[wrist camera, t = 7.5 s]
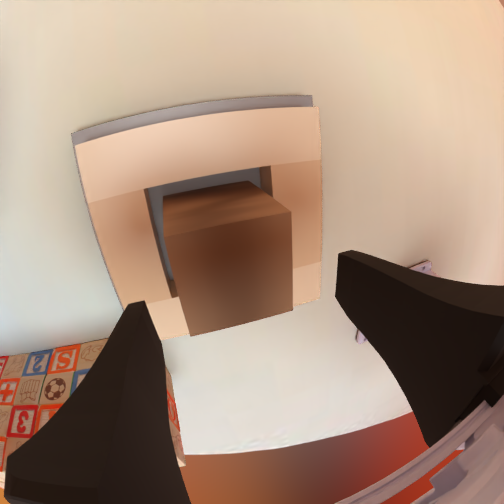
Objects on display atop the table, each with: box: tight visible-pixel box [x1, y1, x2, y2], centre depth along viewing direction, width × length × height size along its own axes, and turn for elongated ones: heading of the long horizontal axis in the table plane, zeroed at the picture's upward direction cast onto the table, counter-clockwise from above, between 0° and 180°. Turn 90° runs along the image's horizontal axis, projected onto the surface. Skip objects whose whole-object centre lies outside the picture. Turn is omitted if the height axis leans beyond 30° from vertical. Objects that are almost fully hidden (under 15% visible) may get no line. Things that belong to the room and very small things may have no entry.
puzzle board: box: [71, 95, 322, 340], centre depth 16 cm, size 14×14×3 cm
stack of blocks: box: [0, 338, 186, 489], centre depth 14 cm, size 21×6×12 cm, turn 97°
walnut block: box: [163, 180, 293, 336], centre depth 14 cm, size 5×5×6 cm
